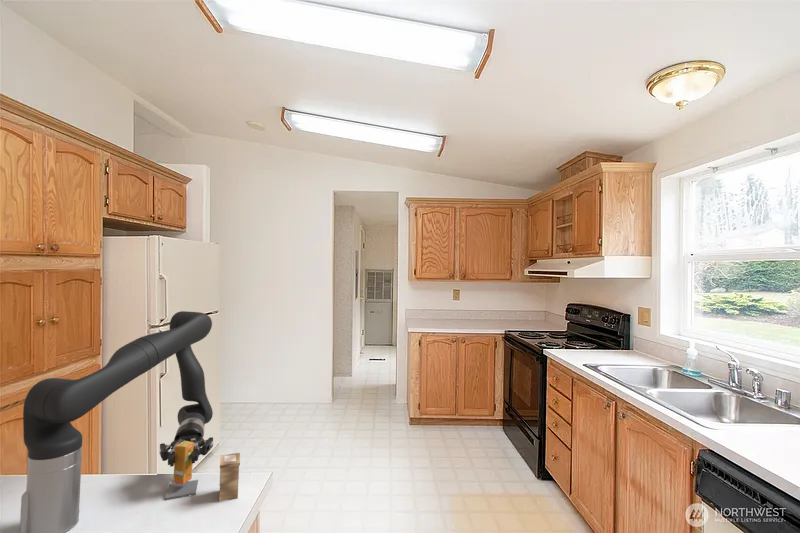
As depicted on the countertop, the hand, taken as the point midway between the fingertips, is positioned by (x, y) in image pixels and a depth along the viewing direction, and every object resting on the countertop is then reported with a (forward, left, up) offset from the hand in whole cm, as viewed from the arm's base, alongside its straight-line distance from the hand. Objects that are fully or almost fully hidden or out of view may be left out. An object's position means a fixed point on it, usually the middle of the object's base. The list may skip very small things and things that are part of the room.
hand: (182, 461), depth 102 cm
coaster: (0, +3, -9) cm, 9 cm away
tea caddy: (+11, -3, -9) cm, 15 cm away
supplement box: (0, +3, -7) cm, 7 cm away
